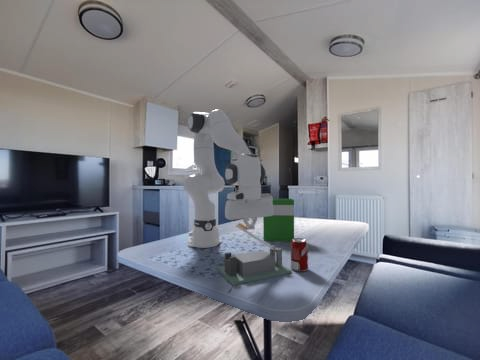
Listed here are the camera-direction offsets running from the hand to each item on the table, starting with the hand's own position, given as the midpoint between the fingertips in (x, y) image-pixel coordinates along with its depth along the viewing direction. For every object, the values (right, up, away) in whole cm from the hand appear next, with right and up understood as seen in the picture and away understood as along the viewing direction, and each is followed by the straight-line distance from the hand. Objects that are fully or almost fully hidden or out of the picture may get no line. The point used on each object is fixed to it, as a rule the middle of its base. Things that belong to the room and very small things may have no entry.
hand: (250, 229), depth 95 cm
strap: (+3, -5, +2) cm, 6 cm away
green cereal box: (+19, -16, +49) cm, 55 cm away
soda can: (+20, -17, +2) cm, 26 cm away
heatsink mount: (+1, -17, +1) cm, 17 cm away
